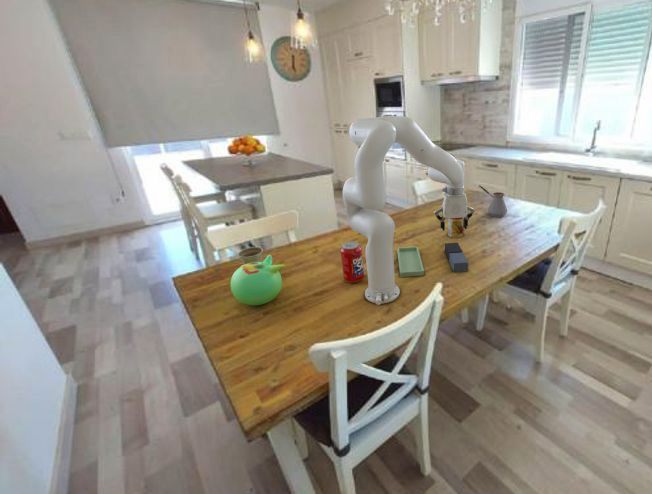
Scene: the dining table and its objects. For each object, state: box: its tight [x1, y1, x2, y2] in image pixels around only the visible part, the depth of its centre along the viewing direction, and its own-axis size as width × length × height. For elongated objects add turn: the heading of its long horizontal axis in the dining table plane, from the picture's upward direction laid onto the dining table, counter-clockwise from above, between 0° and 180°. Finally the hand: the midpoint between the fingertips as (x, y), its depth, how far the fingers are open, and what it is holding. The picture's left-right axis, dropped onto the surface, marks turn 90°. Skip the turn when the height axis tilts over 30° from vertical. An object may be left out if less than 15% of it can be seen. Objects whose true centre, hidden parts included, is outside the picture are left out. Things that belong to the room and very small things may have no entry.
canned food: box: [447, 217, 465, 239], centre depth 162 cm, size 8×8×12 cm
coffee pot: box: [478, 184, 508, 218], centre depth 190 cm, size 21×12×15 cm, turn 39°
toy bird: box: [229, 254, 286, 306], centre depth 112 cm, size 18×17×15 cm
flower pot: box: [237, 246, 264, 265], centre depth 132 cm, size 9×9×9 cm
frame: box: [396, 246, 425, 278], centre depth 138 cm, size 23×10×2 cm, turn 7°
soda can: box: [339, 241, 365, 284], centre depth 124 cm, size 8×8×15 cm
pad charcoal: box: [444, 242, 463, 261], centre depth 143 cm, size 9×6×4 cm, turn 7°
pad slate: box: [448, 251, 469, 273], centre depth 134 cm, size 9×6×4 cm, turn 7°
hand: (454, 228), depth 139 cm, fingers open, 9 cm apart
